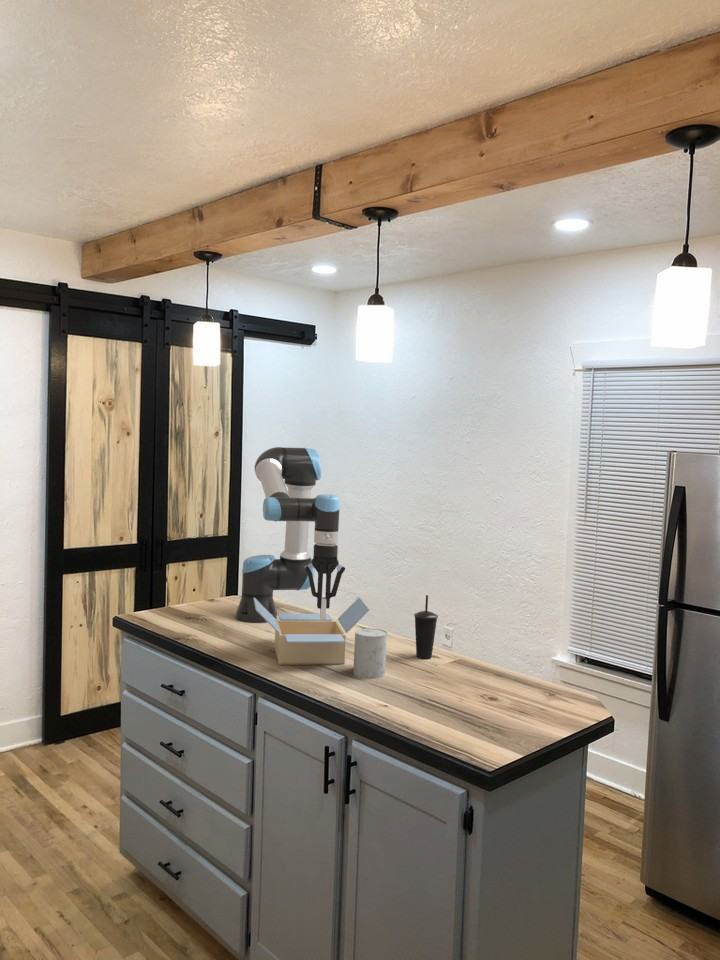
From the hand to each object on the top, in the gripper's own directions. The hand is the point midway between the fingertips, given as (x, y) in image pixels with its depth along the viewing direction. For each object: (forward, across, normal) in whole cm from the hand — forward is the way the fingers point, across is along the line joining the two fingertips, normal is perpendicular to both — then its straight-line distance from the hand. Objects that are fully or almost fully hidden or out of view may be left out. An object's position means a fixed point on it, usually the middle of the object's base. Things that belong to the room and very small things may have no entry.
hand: (322, 618), depth 240 cm
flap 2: (-1, +9, 0) cm, 10 cm away
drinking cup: (+12, +33, -2) cm, 35 cm away
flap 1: (-1, -18, 0) cm, 18 cm away
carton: (+12, -4, 0) cm, 13 cm away
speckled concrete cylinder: (+12, +12, -18) cm, 25 cm away
